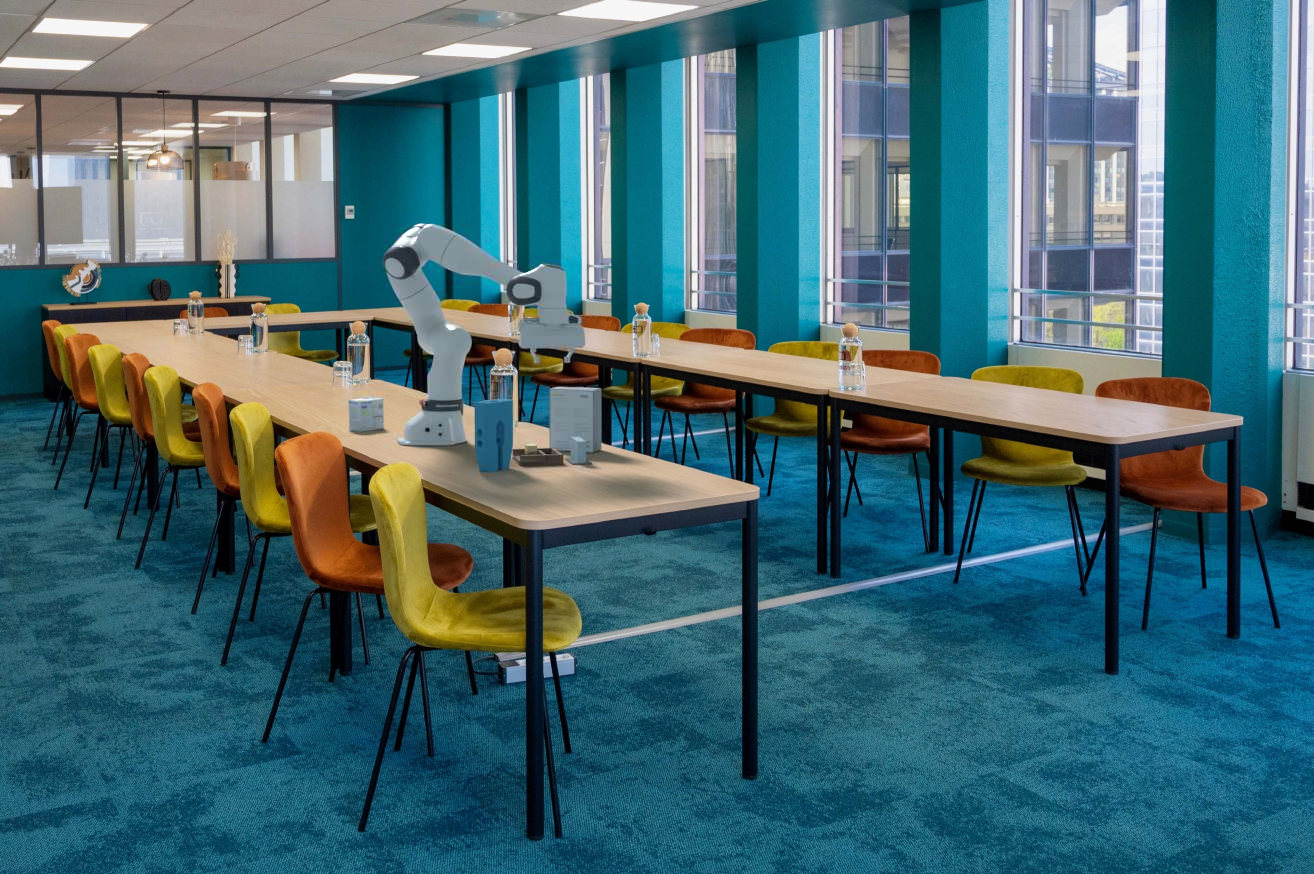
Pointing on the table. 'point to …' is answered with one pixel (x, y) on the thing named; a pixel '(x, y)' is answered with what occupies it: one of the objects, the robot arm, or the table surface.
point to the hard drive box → (575, 417)
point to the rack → (538, 457)
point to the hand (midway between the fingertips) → (552, 362)
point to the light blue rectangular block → (578, 449)
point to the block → (493, 434)
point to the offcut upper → (531, 447)
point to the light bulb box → (366, 414)
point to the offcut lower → (530, 453)
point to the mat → (576, 462)
